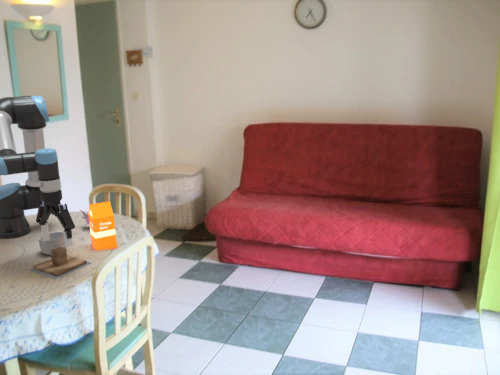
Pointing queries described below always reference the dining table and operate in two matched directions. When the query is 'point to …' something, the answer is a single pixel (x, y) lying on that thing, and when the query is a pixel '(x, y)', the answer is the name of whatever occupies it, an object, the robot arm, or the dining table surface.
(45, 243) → the teacup
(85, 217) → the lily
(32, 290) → the dining table surface
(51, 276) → the mat
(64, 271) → the lid
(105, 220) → the orange juice
